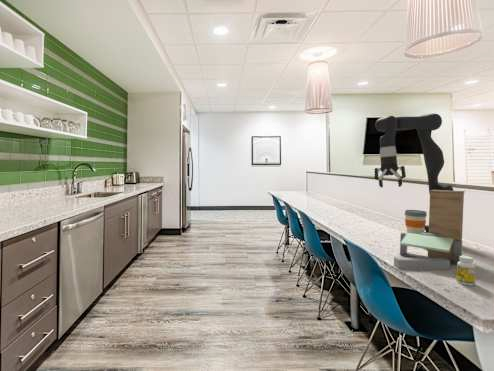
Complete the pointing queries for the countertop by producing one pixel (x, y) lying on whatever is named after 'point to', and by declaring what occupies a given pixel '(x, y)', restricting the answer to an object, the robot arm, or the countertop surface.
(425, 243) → the trapdoor
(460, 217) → the walnut pedestal
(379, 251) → the countertop surface
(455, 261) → the trapdoor frame
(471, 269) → the supplement bottle
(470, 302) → the countertop surface
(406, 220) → the reusable coffee cup
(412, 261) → the slate bar
